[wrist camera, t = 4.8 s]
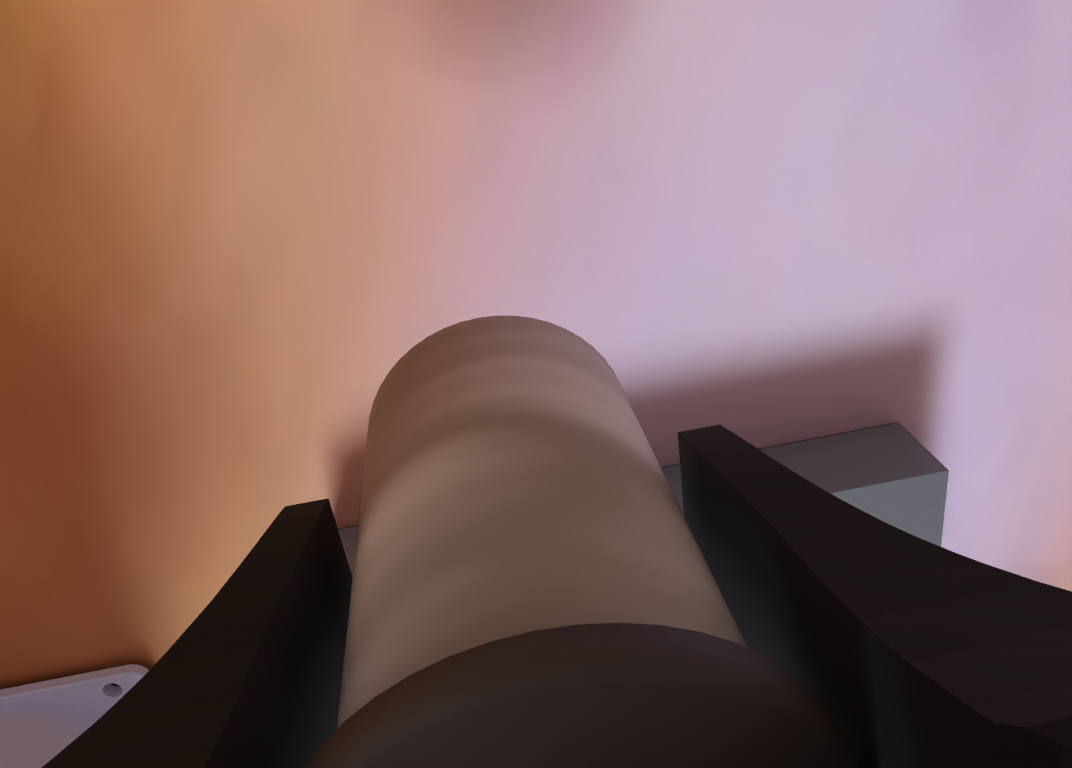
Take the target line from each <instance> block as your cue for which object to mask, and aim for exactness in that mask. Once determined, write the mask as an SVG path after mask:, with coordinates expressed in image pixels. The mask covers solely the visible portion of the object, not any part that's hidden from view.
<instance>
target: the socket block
mask: <svg viewBox="0 0 1072 768" xmlns="http://www.w3.org/2000/svg"><path fill="white" fill-rule="evenodd" d="M759 450H760V451H762V452H763V453H765V454H766V455H768V456H769V457H771V458H773V459H774V460H776V461H777V462H779V463H780V464H782V465H784V466H785V467H787V468H788V469H790V470H792V471H793V472H795V473H796V474H798V475H800V476H801V477H803V478H805V479H806V480H808V481H810V482H811V483H813V484H815V485H817V486H818V487H820V488H822V489H823V490H825V491H827V492H829V493H830V494H832V495H834V496H836V497H838V498H839V499H841V500H843V501H845V502H847V503H849V504H851V505H852V506H854V507H856V508H858V509H860V510H862V511H864V512H866V513H868V514H870V515H872V516H874V517H876V518H878V519H879V520H881V521H883V522H886V523H888V524H890V525H892V526H894V527H896V528H898V529H900V530H903V531H905V532H907V533H909V534H912V535H914V536H916V537H919V538H921V539H923V540H926V541H928V542H930V543H933V544H935V545H937V546H940V547H941V539H942V529H943V520H944V510H945V500H946V491H947V481H948V472H949V470H948V469H947V468H946V467H944V466H943V465H942V464H941V463H940V462H939V461H938V460H937V459H936V458H935V457H934V456H933V455H932V454H931V453H930V452H929V451H928V450H927V449H926V448H925V447H924V446H923V445H921V444H920V443H919V442H918V441H917V440H916V439H915V438H914V437H913V436H912V435H911V434H910V433H909V432H908V431H907V430H906V429H905V428H904V427H903V426H902V425H901V424H900V423H895V424H890V425H884V426H879V427H874V428H869V429H863V430H858V431H853V432H848V433H842V434H837V435H832V436H827V437H821V438H816V439H811V440H806V441H800V442H795V443H790V444H784V445H779V446H774V447H769V448H763V449H759ZM661 469H662V471H663V473H664V475H665V477H666V479H667V481H668V484H669V486H670V488H671V490H672V492H673V494H674V496H675V498H676V500H677V502H678V504H679V506H680V508H681V510H682V512H683V515H684V510H683V496H682V482H681V468H680V464H679V465H674V466H669V467H663V468H661ZM338 531H339V535H340V538H341V541H342V544H343V548H344V551H345V554H346V557H347V561H348V564H349V567H350V570H351V574H352V577H353V569H354V560H355V550H356V540H357V531H358V526H353V527H348V528H343V529H338Z"/></svg>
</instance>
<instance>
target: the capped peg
mask: <svg viewBox="0 0 1072 768" xmlns="http://www.w3.org/2000/svg"><path fill="white" fill-rule="evenodd" d="M305 768H860V767H859V765H858V763H857V761H856V760H855V758H854V756H853V754H852V752H851V751H850V749H849V747H848V745H847V743H846V741H845V740H844V738H843V736H842V734H841V732H840V731H839V729H838V727H837V725H836V723H835V721H834V720H833V718H832V716H831V714H830V713H829V712H828V710H827V709H826V708H825V706H824V705H823V704H822V702H821V701H820V700H819V699H818V697H817V696H816V695H815V693H814V692H813V691H812V690H810V689H809V688H808V687H807V686H806V685H805V684H804V683H803V682H802V681H801V680H799V679H798V678H797V677H796V676H795V675H794V674H793V673H791V672H790V671H788V670H787V669H785V668H784V667H782V666H781V665H779V664H777V663H776V662H774V661H773V660H771V659H770V658H768V657H767V656H764V655H762V654H760V653H758V652H756V651H753V650H751V649H749V648H748V647H747V645H746V643H745V640H744V638H743V636H742V634H741V632H740V630H739V628H738V626H737V624H736V622H735V620H734V618H733V616H732V614H731V612H730V610H729V607H728V605H727V603H726V601H725V599H724V597H723V595H722V593H721V591H720V589H719V587H718V585H717V583H716V581H715V579H714V576H713V574H712V572H711V570H710V568H709V566H708V564H707V562H706V560H705V558H704V556H703V554H702V552H701V550H700V548H699V546H698V543H697V541H696V539H695V537H694V535H693V533H692V531H691V529H690V527H689V525H688V523H687V521H686V519H685V517H684V515H683V512H682V510H681V508H680V506H679V504H678V502H677V500H676V498H675V496H674V494H673V492H672V490H671V488H670V486H669V484H668V481H667V479H666V477H665V475H664V473H663V471H662V469H661V467H660V465H659V463H658V461H657V459H656V457H655V455H654V453H653V451H652V448H651V446H650V444H649V442H648V440H647V438H646V436H645V434H644V432H643V430H642V428H641V426H640V424H639V422H638V420H637V417H636V415H635V413H634V411H633V409H632V407H631V405H630V403H629V401H628V399H627V397H626V395H625V393H624V391H623V389H622V386H621V384H620V383H619V381H618V379H617V377H616V375H615V373H614V371H613V370H612V368H611V367H610V366H609V364H608V363H607V361H606V360H605V359H604V358H603V357H602V356H601V355H600V354H599V353H598V352H597V351H596V349H595V348H594V347H592V346H591V345H590V344H588V343H587V342H586V341H584V340H583V339H582V338H581V337H579V336H577V335H575V334H574V333H572V332H570V331H568V330H567V329H564V328H562V327H559V326H557V325H554V324H552V323H549V322H546V321H542V320H538V319H534V318H528V317H520V316H490V317H482V318H476V319H472V320H468V321H464V322H460V323H457V324H455V325H452V326H449V327H447V328H444V329H442V330H440V331H438V332H436V333H434V334H432V335H430V336H429V337H427V338H425V339H424V340H423V341H421V342H420V343H418V344H417V345H415V346H414V347H413V348H412V349H410V350H409V351H408V352H407V353H406V354H405V355H404V356H403V357H402V358H401V359H400V360H399V361H398V362H397V363H396V364H395V366H394V367H393V368H392V369H391V370H390V372H389V373H388V375H387V376H386V378H385V379H384V381H383V383H382V384H381V386H380V388H379V390H378V392H377V395H376V397H375V399H374V402H373V405H372V409H371V413H370V417H369V425H368V434H367V444H366V453H365V463H364V473H363V482H362V492H361V502H360V511H359V521H358V531H357V540H356V550H355V560H354V569H353V579H352V589H351V598H350V608H349V618H348V627H347V637H346V647H345V656H344V666H343V676H342V685H341V695H340V705H339V714H338V724H337V729H336V730H335V732H334V733H333V734H332V735H331V736H330V737H329V738H328V739H327V740H326V741H325V742H324V743H323V744H322V745H321V746H320V747H319V748H318V750H317V751H316V753H315V754H314V755H313V757H312V758H311V760H310V761H309V762H308V764H307V765H306V767H305Z"/></svg>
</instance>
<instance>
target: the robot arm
mask: <svg viewBox="0 0 1072 768" xmlns="http://www.w3.org/2000/svg"><path fill="white" fill-rule="evenodd" d="M678 440H679V454H680V468H681V482H682V496H683V510H684V517H685V519H686V521H687V523H688V525H689V527H690V529H691V531H692V533H693V535H694V537H695V539H696V541H697V543H698V546H699V548H700V550H701V552H702V554H703V556H704V558H705V560H706V562H707V564H708V566H709V568H710V570H711V572H712V574H713V576H714V579H715V581H716V583H717V585H718V587H719V589H720V591H721V593H722V595H723V597H724V599H725V601H726V603H727V605H728V607H729V610H730V612H731V614H732V616H733V618H734V620H735V622H736V624H737V626H738V628H739V630H740V632H741V634H742V636H743V638H744V640H745V643H746V645H747V647H748V648H749V649H751V650H753V651H756V652H758V653H760V654H762V655H764V656H767V657H768V658H770V659H771V660H773V661H774V662H776V663H777V664H779V665H781V666H782V667H784V668H785V669H787V670H788V671H790V672H791V673H793V674H794V675H795V676H796V677H797V678H798V679H799V680H801V681H802V682H803V683H804V684H805V685H806V686H807V687H808V688H809V689H810V690H812V691H813V692H814V693H815V695H816V696H817V697H818V699H819V700H820V701H821V702H822V704H823V705H824V706H825V708H826V709H827V710H828V712H829V713H830V714H831V716H832V718H833V720H834V721H835V723H836V725H837V727H838V729H839V731H840V732H841V734H842V736H843V738H844V740H845V741H846V743H847V745H848V747H849V749H850V751H851V752H852V754H853V756H854V758H855V760H856V761H857V763H858V765H859V767H860V768H1072V592H1071V591H1068V590H1064V589H1061V588H1057V587H1054V586H1051V585H1047V584H1044V583H1040V582H1037V581H1034V580H1031V579H1028V578H1025V577H1022V576H1019V575H1016V574H1013V573H1010V572H1007V571H1004V570H1001V569H998V568H995V567H992V566H989V565H987V564H984V563H981V562H978V561H975V560H973V559H970V558H967V557H965V556H962V555H959V554H957V553H954V552H952V551H949V550H947V549H945V548H942V547H940V546H937V545H935V544H933V543H930V542H928V541H926V540H923V539H921V538H919V537H916V536H914V535H912V534H909V533H907V532H905V531H903V530H900V529H898V528H896V527H894V526H892V525H890V524H888V523H886V522H883V521H881V520H879V519H878V518H876V517H874V516H872V515H870V514H868V513H866V512H864V511H862V510H860V509H858V508H856V507H854V506H852V505H851V504H849V503H847V502H845V501H843V500H841V499H839V498H838V497H836V496H834V495H832V494H830V493H829V492H827V491H825V490H823V489H822V488H820V487H818V486H817V485H815V484H813V483H811V482H810V481H808V480H806V479H805V478H803V477H801V476H800V475H798V474H796V473H795V472H793V471H792V470H790V469H788V468H787V467H785V466H784V465H782V464H780V463H779V462H777V461H776V460H774V459H773V458H771V457H769V456H768V455H766V454H765V453H763V452H762V451H760V450H759V449H757V448H755V447H754V446H752V445H751V444H749V443H748V442H746V441H745V440H743V439H742V438H740V437H739V436H737V435H735V434H734V433H732V432H731V431H729V430H728V429H726V428H724V427H723V426H721V425H715V426H710V427H705V428H699V429H694V430H689V431H683V432H678ZM352 579H353V577H352V574H351V570H350V567H349V564H348V561H347V557H346V554H345V551H344V548H343V544H342V541H341V538H340V535H339V531H338V528H337V525H336V522H335V518H334V515H333V512H332V509H331V505H330V502H329V499H323V500H317V501H312V502H307V503H301V504H296V505H291V506H286V507H284V509H283V510H282V511H281V512H280V513H279V515H278V516H277V517H276V519H275V520H274V521H273V522H272V524H271V525H270V526H269V528H268V529H267V530H266V532H265V533H264V534H263V536H262V537H261V538H260V540H259V541H258V542H257V544H256V545H255V546H254V547H253V549H252V550H251V551H250V553H249V554H248V555H247V557H246V558H245V559H244V561H243V562H242V563H241V564H240V566H239V567H238V568H237V569H236V571H235V572H234V573H233V575H232V576H231V577H230V578H229V580H228V581H227V582H226V583H225V585H224V586H223V587H222V588H221V590H220V591H219V592H218V593H217V595H216V596H215V597H214V598H213V600H212V601H211V602H210V603H209V604H208V606H207V607H206V608H205V609H204V610H203V611H202V612H201V614H200V615H199V616H198V617H197V618H196V619H195V620H194V622H193V623H192V624H191V625H190V626H189V627H188V628H187V629H186V631H185V632H184V633H183V634H182V635H181V636H180V637H179V639H178V640H177V641H176V642H175V643H174V644H173V645H172V647H171V648H170V649H169V650H168V651H167V652H166V653H165V655H164V656H163V657H162V658H161V659H160V660H159V661H158V662H157V663H156V664H155V665H154V666H153V667H152V668H151V669H150V670H148V669H147V668H145V667H143V666H141V665H136V664H131V665H124V666H118V667H113V668H108V669H103V670H98V671H93V672H88V673H83V674H78V675H72V676H67V677H62V678H57V679H52V680H47V681H42V682H37V683H32V684H26V685H21V686H16V687H11V688H6V689H1V690H0V768H305V767H306V765H307V764H308V762H309V761H310V760H311V758H312V757H313V755H314V754H315V753H316V751H317V750H318V748H319V747H320V746H321V745H322V744H323V743H324V742H325V741H326V740H327V739H328V738H329V737H330V736H331V735H332V734H333V733H334V732H335V730H336V729H337V724H338V714H339V705H340V695H341V685H342V676H343V666H344V656H345V647H346V637H347V627H348V618H349V608H350V598H351V589H352ZM109 683H115V684H117V685H119V686H113V685H110V684H109Z"/></svg>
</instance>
